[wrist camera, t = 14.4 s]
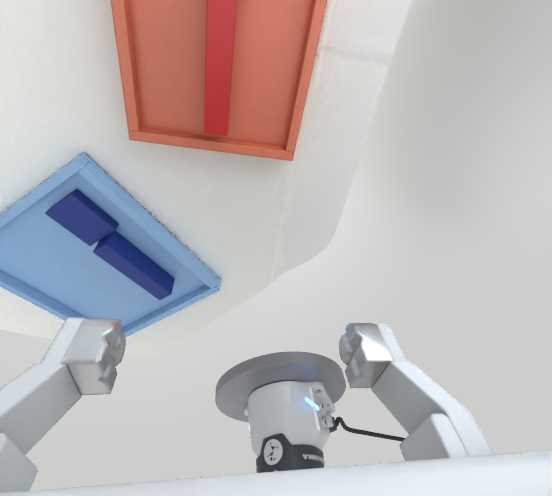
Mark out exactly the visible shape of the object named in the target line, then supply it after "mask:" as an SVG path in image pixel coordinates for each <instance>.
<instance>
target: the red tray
mask: <svg viewBox="0 0 552 496" xmlns="http://www.w3.org/2000/svg"><path fill="white" fill-rule="evenodd" d="M326 4H327V0H237V11H236V25H235V38H234V52H233V65H232V79H231V92H230V106H229V120H228V133H227V136H222V135H215V134H208V133H204V99H205V58H206V17H207V0H111V6H112V13H113V21H114V28H115V35H116V43H117V50H118V57H119V64H120V72H121V79H122V86H123V94H124V101H125V108H126V116H127V123H128V129H129V138H130V140H135V141H143V142H150V143H158V144H166V145H174V146H181V147H189V148H197V149H205V150H212V151H220V152H228V153H236V154H244V155H251V156H259V157H267V158H275V159H282V160H290V161H292V160H293V156H294V151H295V147H296V142H297V138H298V133H299V128H300V124H301V119H302V115H303V110H304V105H305V101H306V96H307V92H308V87H309V82H310V78H311V73H312V68H313V64H314V59H315V55H316V50H317V45H318V41H319V36H320V32H321V27H322V22H323V18H324V13H325V8H326Z"/></svg>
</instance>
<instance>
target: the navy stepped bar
mask: <svg viewBox="0 0 552 496" xmlns="http://www.w3.org/2000/svg"><path fill="white" fill-rule="evenodd" d="M45 214H46V215H47V216H49V217H50V218H52V219H53V220H54V221H56V222H57V223H58V224H60V225H61V226H63V227H64V228H65V229H67V230H68V231H69V232H71V233H72V234H74V235H75V236H76V237H78V238H79V239H80V240H82V241H83V242H85V243H86V244H87V245H89V246H92V245H93V244H95V243H97V242H98V241H99V242H98V244H97V245H96V247H95V249H94V251H93V253H94V254H96V255H97V256H98V257H100V258H101V259H103V260H104V261H105V262H107V263H108V264H110V265H111V266H112V267H114V268H115V269H117V270H118V271H119V272H121V273H122V274H124V275H125V276H126V277H128V278H129V279H131V280H132V281H133V282H135V283H136V284H137V285H139V286H140V287H142V288H143V289H144V290H146V291H147V292H149V293H150V294H151V295H153V296H154V297H156V298H157V299H158V300H162V299H164V298H166V297H168V296H169V295H171V294H172V290H173V285H174V281H175V278H174V277H172V276H171V275H170V274H169V273H168V272H166V271H165V270H164V269H163V268H161V267H160V266H159V265H158V264H156V263H155V262H154V261H153V260H152V259H150V258H149V257H148V256H147V255H145V254H144V253H143V252H142V251H140V250H139V249H138V248H137V247H136V246H134V245H133V244H132V243H131V242H129V241H128V240H127V239H126V238H124V237H123V236H122V235H121V234H120V233H118V232H117V231H116V229H117V227H118V225H119V223H118V222H117V221H115V220H114V219H113V218H112V217H111V216H109V215H108V214H107V213H106V212H105V211H103V210H102V209H101V208H100V207H99V206H97V205H96V204H95V203H94V202H93V201H91V200H90V199H89V198H88V197H87V196H85V195H84V194H83V193H82V192H81V191H80V190H78V189H77V188H76V189H75V190H74V191H72V192H71V193H69V194H68V195H67V196H65V197H64V198H62V199H61V200H60V201H58V202H57V203H55V204H54V205H53V206H51V207H50V208H49V209H48V210H47V211H46V213H45Z"/></svg>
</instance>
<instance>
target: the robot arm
mask: <svg viewBox="0 0 552 496" xmlns="http://www.w3.org/2000/svg"><path fill="white" fill-rule="evenodd" d="M121 328H122V322H121V319H103V318H76V317H69V318H68V319H67V320H66V321H64V323H63V324H62V326H61V328H60V330H59V331H58V333H57V335H56V337H55V338H54V340H53V342H52V344H51V345H50V347H49V349H48V350H47V352H46V354H45V356H44V357H43V359H42V361H41V363H40V364H34V365H33V366H31V367H30V368H28V369H27V370H26V371H24V372H23V373H22V374H20V375H19V376H17V377H16V378H15V379H13V380H12V381H10V382H9V383H7V384H6V385H5V386H3V387H2V388H1V389H0V496H552V450H545V451H531V452H519V453H506V454H495V453H494V452H493V450H492V448H491V447H490V445H489V444H488V442H487V440H486V438H485V437H484V435H483V433H482V432H481V430H480V428H479V427H478V425H477V423H476V421H475V420H474V418H473V417H472V415H471V413H470V411H468V410H467V409H466V408H465V407H463V406H462V405H461V404H460V403H459V402H458V401H457V400H455V399H454V398H453V397H452V396H450V394H448V393H447V392H446V391H445V390H444V389H442V388H441V387H440V386H439V385H438V384H437V383H435V382H434V381H433V380H432V379H431V378H429V377H428V376H427V375H426V374H425V373H424V372H422V371H421V370H420V369H419V368H418V367H416V366H415V365H414V364H413V363H412V362H407V360H406V358H405V356H404V354H403V352H402V350H401V348H400V346H399V344H398V342H397V341H396V338H395V337H394V335H393V333H392V331H391V329H390V327H389V326H388V325H387V324H373V323H349V324H348V325H347V327H346V332H347V333H346V334H344V335H343V336H342V337H341V339H340V342H339V352H340V356H341V360H342V361H343V362H344V363H345V364H346V365H347V367H346V370H345V373H346V376H347V379H348V382H349V385H350V388H372V389H371V390H372V391H373V392H374V393H375V395H376V396H377V397H378V398H379V399H380V400H381V402H382V403H383V404H384V405H385V406H386V408H388V410H389V411H390V412H391V413H392V415H393V416H394V417H395V418H396V419H397V420H398V422H399V423H400V424H401V425H402V426H403V428H404V429H405V430H406V431H407V432H408V434H409V436H408V437H407V438H401V437H396V436H390V435H385V434H379V433H374V432H369V431H364V430H358V429H353V428H349V427H347V426H346V425H345V423H344V421H343V419H342V418H341V417H337V418H336V420H334V417H331V415H330V414H332V413H333V412H334V411H335V406H334V404H333V402H332V400H331V398H330V396H329V394H328V393H327V391H326V389H325V387H324V385H323V383H322V382H318V381H316V382H299V381H282V382H276V383H271V384H268V385H265V386H263V387H260V388H258V389H257V390H255V391H254V392H252V393H251V394H250V396H249V397H248V404H247V405H246V406H245V407H244V415H246V416H248V420H249V430H250V439H251V447H252V450H253V452H254V453H255V454H257V456H258V458H257V460H256V466H257V468H256V473H251V474H238V475H225V476H214V477H200V478H187V479H176V480H162V481H150V482H136V483H123V484H111V485H98V486H85V487H72V488H60V489H48V490H35V491H30V488H31V486H32V484H33V481H34V479H35V477H36V474H37V472H38V470H37V468H36V466H35V465H34V464H33V463H32V462H31V461H30V460H29V459H28V458H27V457H26V456H25V455H26V454H27V452H28V451H29V450H30V449H31V448H32V447H33V446H34V445H35V444H36V443H37V442H38V441H39V440H40V439H41V438H42V437H43V436H44V435H45V434H46V433H47V432H48V431H49V430H50V429H51V428H52V426H54V425H55V424H56V423H57V422H58V420H59V419H61V417H62V416H63V415H64V414H65V413H66V412H67V411H68V410H69V409H70V408H71V407H72V406H73V405H74V404H75V403H76V402H77V401H78V400H79V399H80V398H81V395H97V394H110V393H111V390H112V388H113V385H114V381H115V379H116V376H117V372H116V368H115V366H117V365H118V364H119V363H120V362H121V361H122V358H123V355H124V351H125V345H126V342H125V334H124V333H123V332H121ZM339 422H340V423H341V425H342V427H343V428H344V429H345V430H346V431H349V432H352V433H356V434H363V435H369V436H374V437H380V438H385V439H391V440H397V441H402V442H401V444H400V449H401V451H402V454H403V457H404V459H405V461H404V462H391V463H378V464H366V465H353V466H340V467H328V468H324V459H323V452H322V449H323V447H324V445H325V443H326V441H327V439H328V437H329V435H330V433H331V432H333V431H335V430H337V429H336V428H337V426H338V425H339Z"/></svg>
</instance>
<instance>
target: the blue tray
mask: <svg viewBox="0 0 552 496" xmlns="http://www.w3.org/2000/svg"><path fill="white" fill-rule="evenodd" d="M76 188H77V189H78V190H80V191H81V192H82V193H83V194H84V195H85V196H87V197H88V198H89V199H90V200H91V201H93V202H94V203H95V204H96V205H97V206H99V207H100V208H101V209H102V210H103V211H105V212H106V213H107V214H108V215H109V216H111V217H112V218H113V219H114V220H115V221H117V222H118V223H119V225H118V227H117V229H116V231H117V232H118V233H120V234H121V235H122V236H123V237H124V238H126V239H127V240H128V241H129V242H131V243H132V244H133V245H134V246H136V247H137V248H138V249H139V250H140V251H142V252H143V253H144V254H145V255H147V256H148V257H149V258H150V259H152V260H153V261H154V262H155V263H156V264H158V265H159V266H160V267H161V268H163V269H164V270H165V271H166V272H168V273H169V274H170V275H171V276H172V277H174V278H175V281H174V285H173V290H172V294H171V295H169V296H168V297H166V298H164V299H162V300H158V299H157V298H156V297H154V296H153V295H151V294H150V293H149V292H147V291H146V290H144V289H143V288H142V287H140V286H139V285H137V284H136V283H135V282H133V281H132V280H131V279H129V278H128V277H126V276H125V275H124V274H122V273H121V272H119V271H118V270H117V269H115V268H114V267H112V266H111V265H110V264H108V263H107V262H105V261H104V260H103V259H101V258H100V257H98V256H97V255H96V254H94V253H93V251H94V249H95V247H96V245H97V244H98V242H99V241H98V242H97V243H95V244H93V245H92V246H89V245H87V244H86V243H85V242H83V241H82V240H80V239H79V238H78V237H76V236H75V235H74V234H72V233H71V232H69V231H68V230H67V229H65V228H64V227H63V226H61V225H60V224H58V223H57V222H56V221H54V220H53V219H52V218H50V217H49V216H47V215H46V214H45V213H46V211H47V210H48V209H49V208H50V207H51V206H53V205H54V204H55V203H57V202H58V201H60V200H61V199H62V198H64V197H65V196H67V195H68V194H69V193H71V192H72V191H74V190H75V189H76ZM220 284H221V280H220V279H219V278H218V277H217V276H216V275H215V274H214V273H213V272H212V271H211V270H209V269H208V268H207V267H206V266H205V265H204V264H203V263H202V262H201V261H200V260H199V259H198V258H197V257H195V256H194V255H193V254H192V253H191V252H190V251H189V250H188V249H187V248H186V247H185V246H184V245H183V244H182V243H180V242H179V241H178V240H177V239H176V238H175V237H174V236H173V235H172V234H171V233H170V232H169V231H168V230H167V229H165V228H164V227H163V226H162V225H161V224H160V223H159V222H158V221H157V220H156V219H155V218H154V217H153V216H152V215H150V214H149V213H148V212H147V211H146V210H145V209H144V208H143V207H142V206H141V205H140V204H139V203H138V202H136V201H135V200H134V199H133V198H132V197H131V196H130V195H129V194H128V193H127V192H126V191H125V190H124V189H123V188H121V187H120V186H119V185H118V184H117V183H116V182H115V181H114V180H113V179H112V178H111V177H110V176H109V175H108V174H106V173H105V172H104V171H103V170H102V169H101V168H100V167H99V166H98V165H97V164H96V163H95V162H94V161H93V160H91V159H90V158H89V157H88V156H87V155H86V154H85V153H84V152H82V153H81V154H80V155H78V156H77V157H76V158H74V159H73V160H72V161H70V162H69V163H68V164H67V165H65V166H64V167H63V168H61V169H60V170H59V171H57V172H56V173H55V174H53V175H52V176H51V177H49V178H48V179H47V180H45V181H44V182H43V183H41V184H40V185H39V186H37V187H36V188H35V189H33V190H32V191H31V192H29V193H28V194H27V195H26V196H24V197H23V198H22V199H20V200H19V201H18V202H16V203H15V204H14V205H12V206H11V207H10V208H8V209H7V210H6V211H4V212H3V213H2V214H0V286H1V287H3V288H4V289H6V290H8V291H10V292H12V293H14V294H16V295H18V296H20V297H22V298H23V299H25V300H27V301H29V302H31V303H33V304H35V305H37V306H39V307H41V308H43V309H44V310H46V311H48V312H50V313H52V314H54V315H56V316H58V317H60V318H62V319H63V320H65V321H66V320H67V319H68V318H69V317H76V318H103V319H121V322H122V328H121V332H123V333H124V334H125V337H127V336H129V335H131V334H133V333H135V332H137V331H139V330H141V329H143V328H145V327H147V326H149V325H151V324H153V323H155V322H157V321H159V320H161V319H163V318H165V317H167V316H169V315H171V314H173V313H175V312H177V311H179V310H181V309H183V308H185V307H187V306H189V305H191V304H193V303H195V302H197V301H199V300H201V299H203V298H205V297H207V296H209V295H211V294H213V293H215V292H217V291H219V290H220Z"/></svg>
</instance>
